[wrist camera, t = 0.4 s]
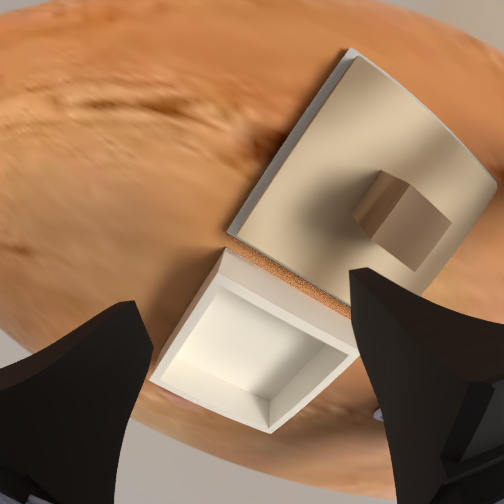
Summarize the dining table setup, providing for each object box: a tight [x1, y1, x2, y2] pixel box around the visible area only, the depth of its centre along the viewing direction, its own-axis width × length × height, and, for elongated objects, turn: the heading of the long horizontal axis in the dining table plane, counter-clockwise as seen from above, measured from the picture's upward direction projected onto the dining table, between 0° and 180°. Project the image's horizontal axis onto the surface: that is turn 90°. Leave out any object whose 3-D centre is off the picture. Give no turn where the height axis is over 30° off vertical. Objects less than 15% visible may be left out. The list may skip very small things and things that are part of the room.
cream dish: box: [149, 247, 360, 434], centre depth 21 cm, size 10×10×4 cm
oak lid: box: [237, 55, 498, 305], centre depth 15 cm, size 12×12×5 cm
